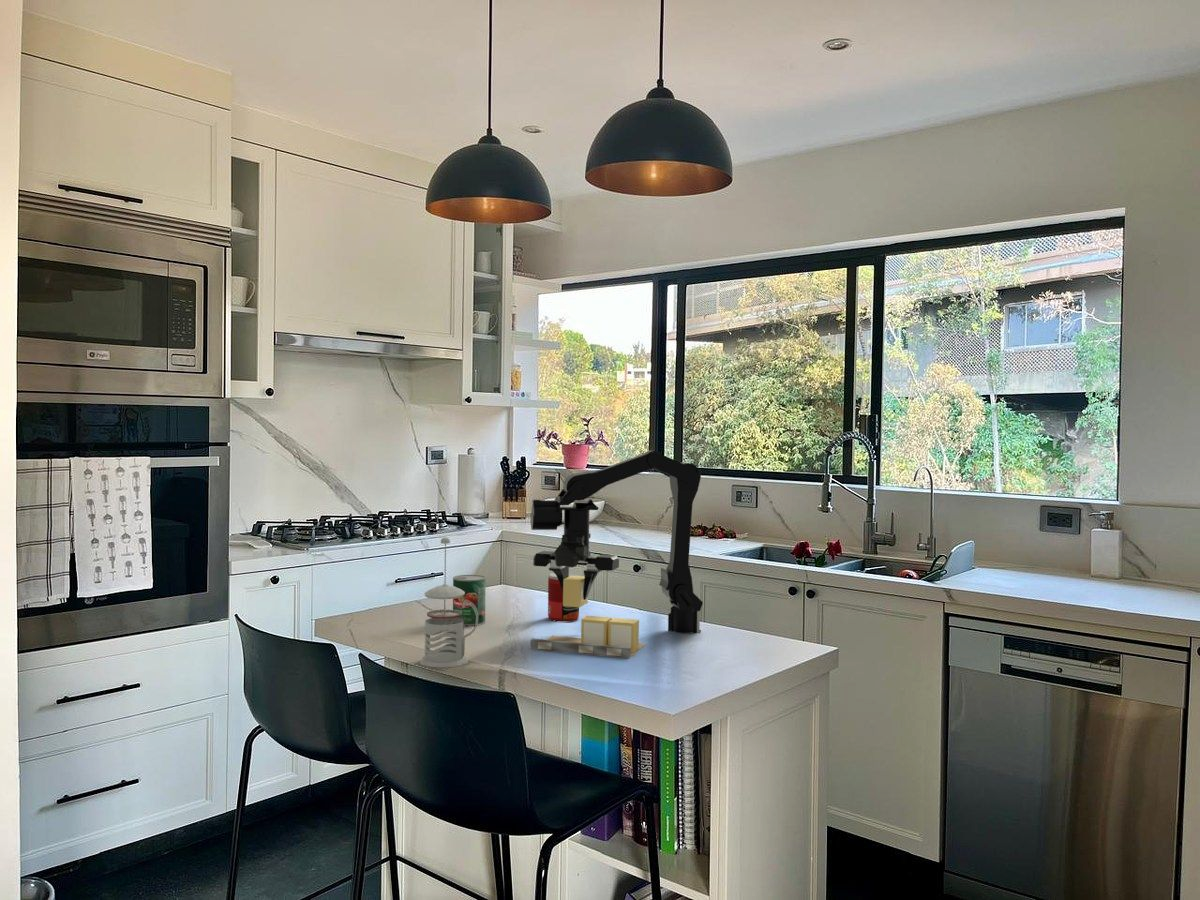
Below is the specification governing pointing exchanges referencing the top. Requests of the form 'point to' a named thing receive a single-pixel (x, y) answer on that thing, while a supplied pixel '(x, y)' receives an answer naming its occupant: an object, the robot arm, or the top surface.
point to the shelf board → (581, 647)
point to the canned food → (559, 601)
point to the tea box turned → (573, 591)
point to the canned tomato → (470, 598)
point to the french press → (446, 628)
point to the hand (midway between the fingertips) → (575, 598)
